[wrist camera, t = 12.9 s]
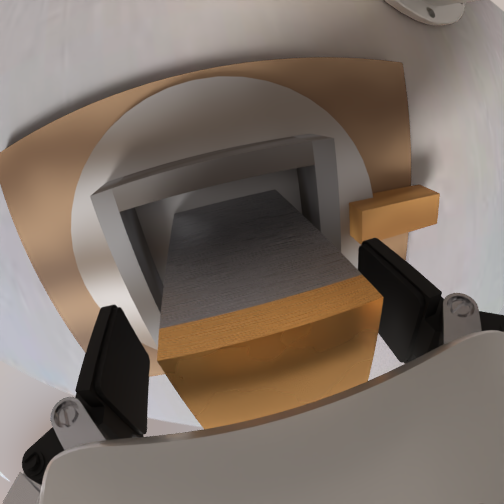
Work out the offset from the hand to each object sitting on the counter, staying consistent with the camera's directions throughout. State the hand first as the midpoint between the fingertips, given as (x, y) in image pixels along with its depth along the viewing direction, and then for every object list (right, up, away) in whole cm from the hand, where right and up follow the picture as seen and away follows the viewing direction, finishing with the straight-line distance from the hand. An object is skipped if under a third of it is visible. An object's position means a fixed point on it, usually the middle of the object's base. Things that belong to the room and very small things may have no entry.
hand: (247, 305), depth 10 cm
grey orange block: (-1, +2, +4) cm, 5 cm away
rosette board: (-1, +3, +6) cm, 7 cm away
